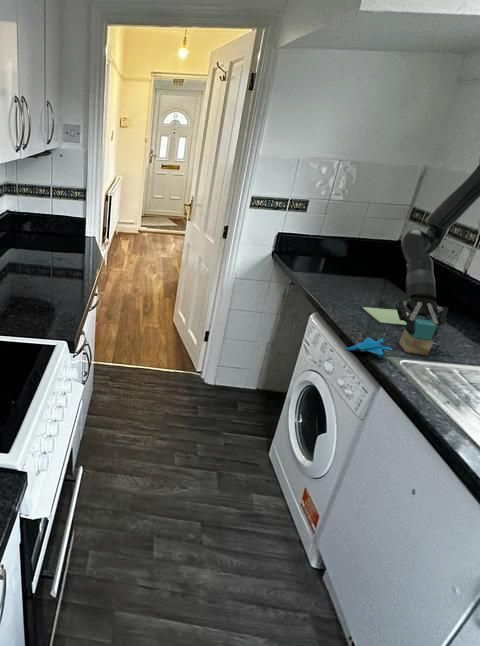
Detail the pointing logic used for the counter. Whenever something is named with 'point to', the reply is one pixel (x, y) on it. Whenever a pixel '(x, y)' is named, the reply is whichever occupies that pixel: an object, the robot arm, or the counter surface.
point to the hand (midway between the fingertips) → (422, 334)
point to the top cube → (423, 329)
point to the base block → (415, 344)
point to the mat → (385, 315)
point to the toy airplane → (370, 347)
